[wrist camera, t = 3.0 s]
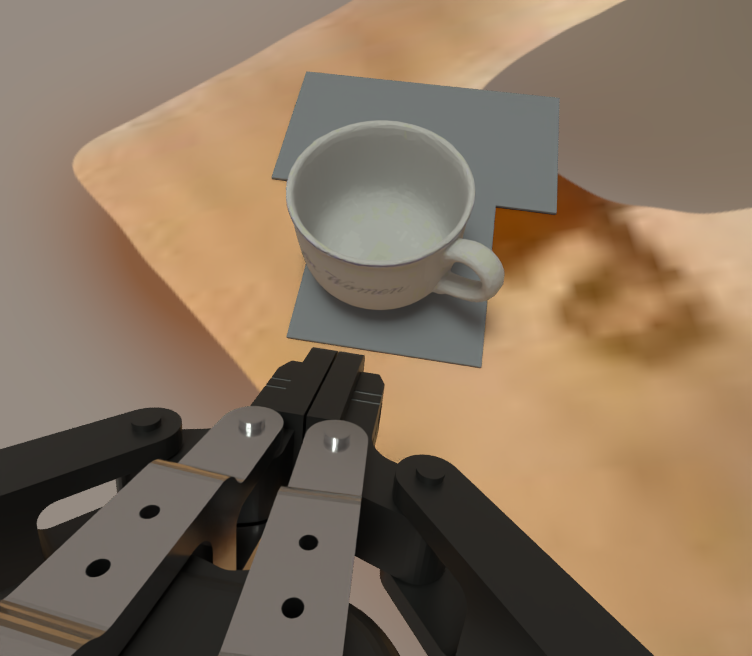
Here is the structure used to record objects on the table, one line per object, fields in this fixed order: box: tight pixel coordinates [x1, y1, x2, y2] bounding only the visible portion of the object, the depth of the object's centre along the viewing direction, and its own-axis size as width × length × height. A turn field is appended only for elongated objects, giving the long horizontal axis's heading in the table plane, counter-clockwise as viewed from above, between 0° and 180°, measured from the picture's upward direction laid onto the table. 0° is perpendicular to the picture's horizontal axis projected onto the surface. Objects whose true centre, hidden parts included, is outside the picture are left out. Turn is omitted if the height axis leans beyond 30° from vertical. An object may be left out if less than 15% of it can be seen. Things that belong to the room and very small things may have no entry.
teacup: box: [286, 120, 504, 310], centre depth 29 cm, size 14×11×8 cm
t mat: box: [272, 72, 559, 368], centre depth 36 cm, size 22×25×1 cm
